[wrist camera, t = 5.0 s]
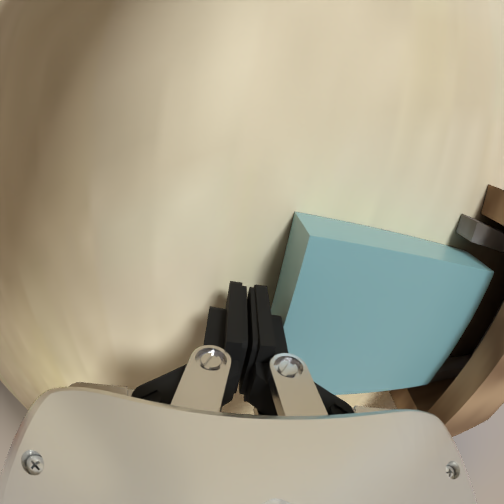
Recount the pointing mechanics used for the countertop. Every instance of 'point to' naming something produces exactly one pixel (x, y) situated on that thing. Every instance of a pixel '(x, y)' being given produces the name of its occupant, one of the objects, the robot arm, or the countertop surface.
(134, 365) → the countertop surface
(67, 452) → the robot arm
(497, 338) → the shelf dock
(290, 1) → the countertop surface
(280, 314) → the pale blue foam block
